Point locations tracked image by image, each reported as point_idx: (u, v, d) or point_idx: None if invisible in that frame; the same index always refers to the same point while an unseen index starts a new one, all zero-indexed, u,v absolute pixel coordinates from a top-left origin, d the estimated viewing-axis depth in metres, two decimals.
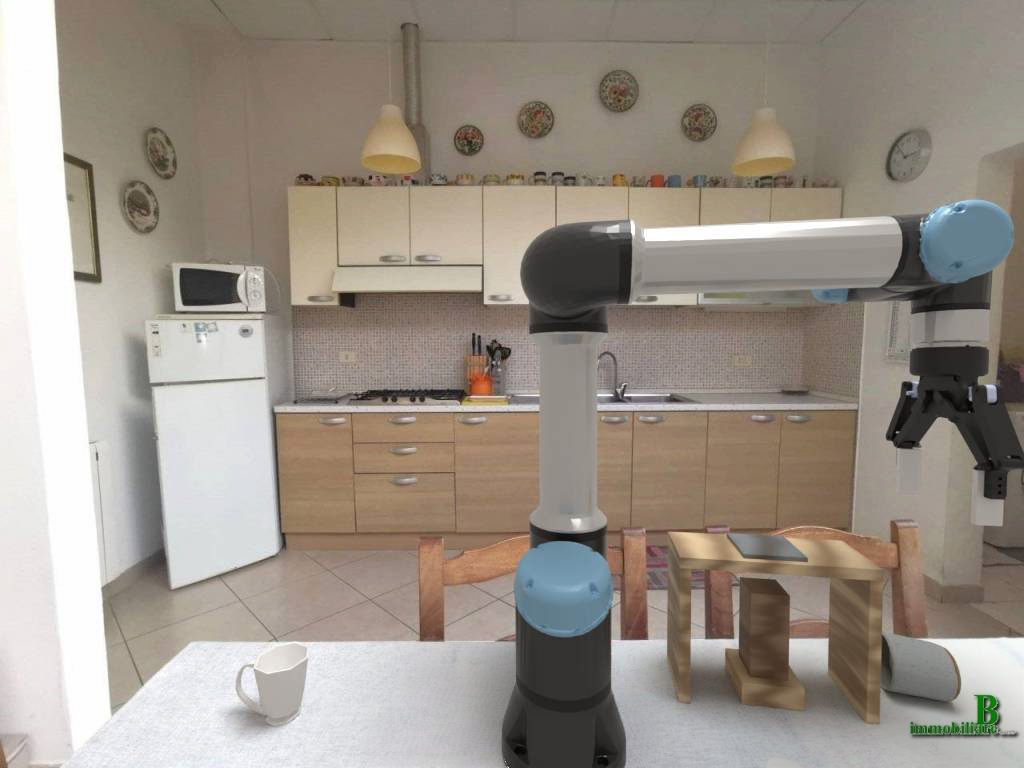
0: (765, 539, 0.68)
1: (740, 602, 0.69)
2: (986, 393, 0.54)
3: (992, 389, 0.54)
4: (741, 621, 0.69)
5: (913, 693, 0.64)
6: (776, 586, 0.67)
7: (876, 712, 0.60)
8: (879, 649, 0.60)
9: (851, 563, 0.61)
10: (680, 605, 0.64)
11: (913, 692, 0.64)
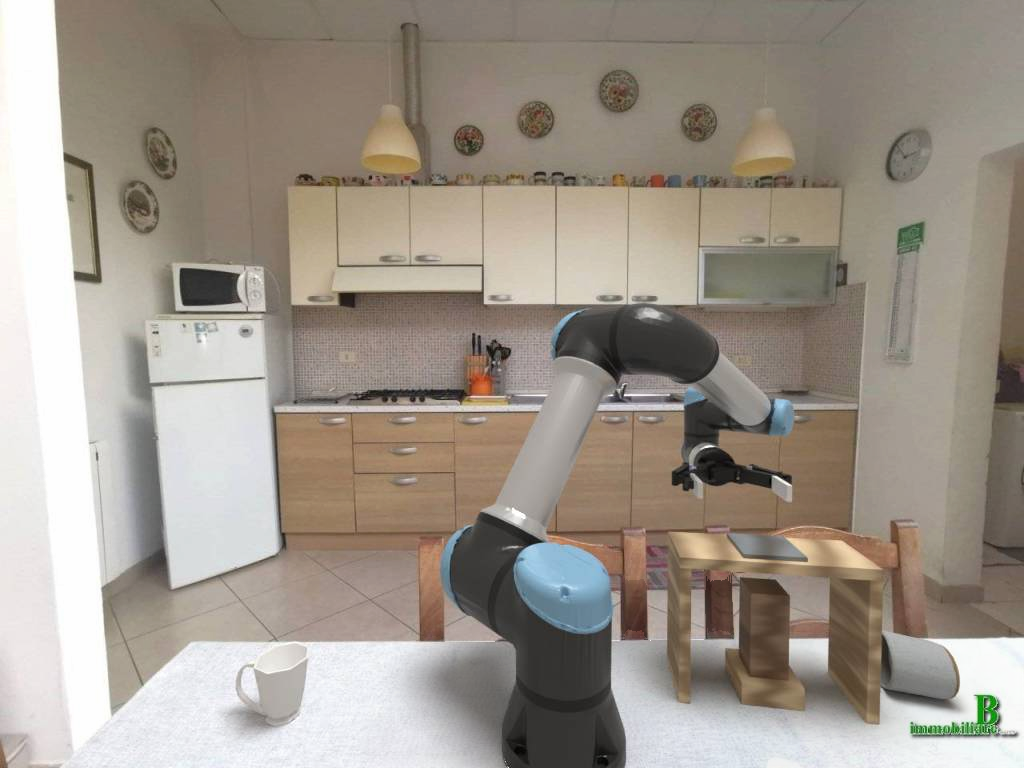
0: (765, 539, 0.68)
1: (740, 602, 0.69)
2: None
3: None
4: (741, 621, 0.69)
5: (912, 691, 0.64)
6: (776, 586, 0.67)
7: (876, 712, 0.60)
8: (879, 649, 0.60)
9: (851, 563, 0.61)
10: (680, 605, 0.64)
11: (912, 690, 0.64)
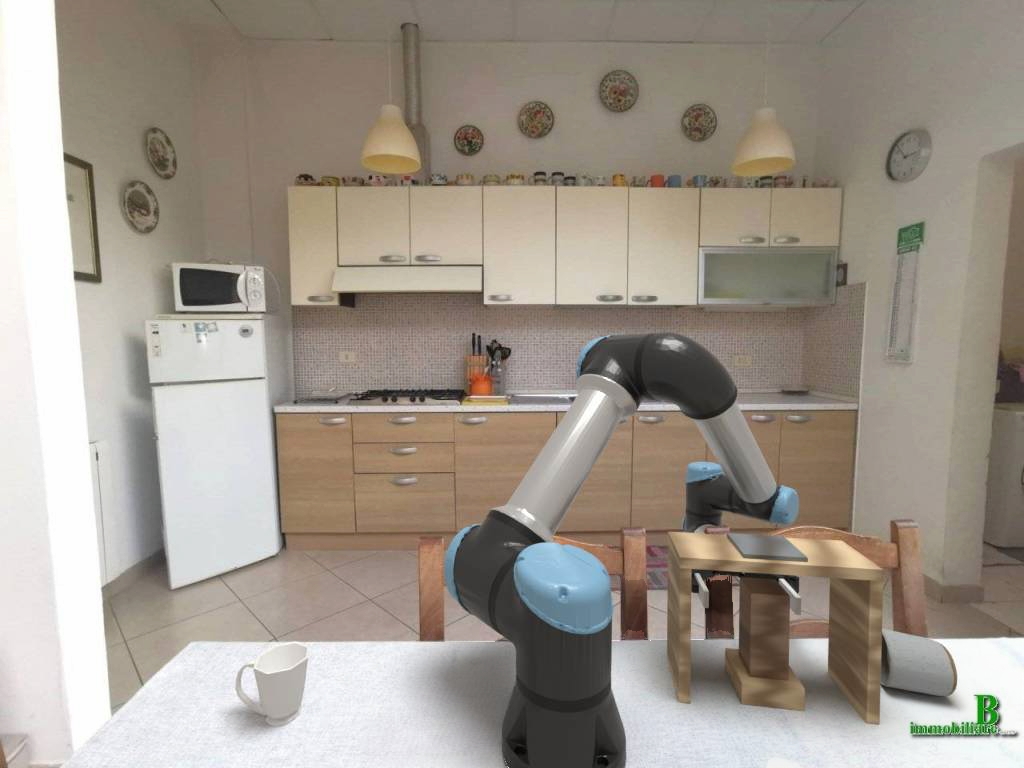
0: (765, 539, 0.68)
1: (740, 602, 0.69)
2: None
3: None
4: (741, 621, 0.69)
5: (910, 688, 0.65)
6: (776, 586, 0.67)
7: (876, 712, 0.60)
8: (879, 649, 0.60)
9: (851, 563, 0.61)
10: (680, 605, 0.64)
11: (910, 687, 0.65)
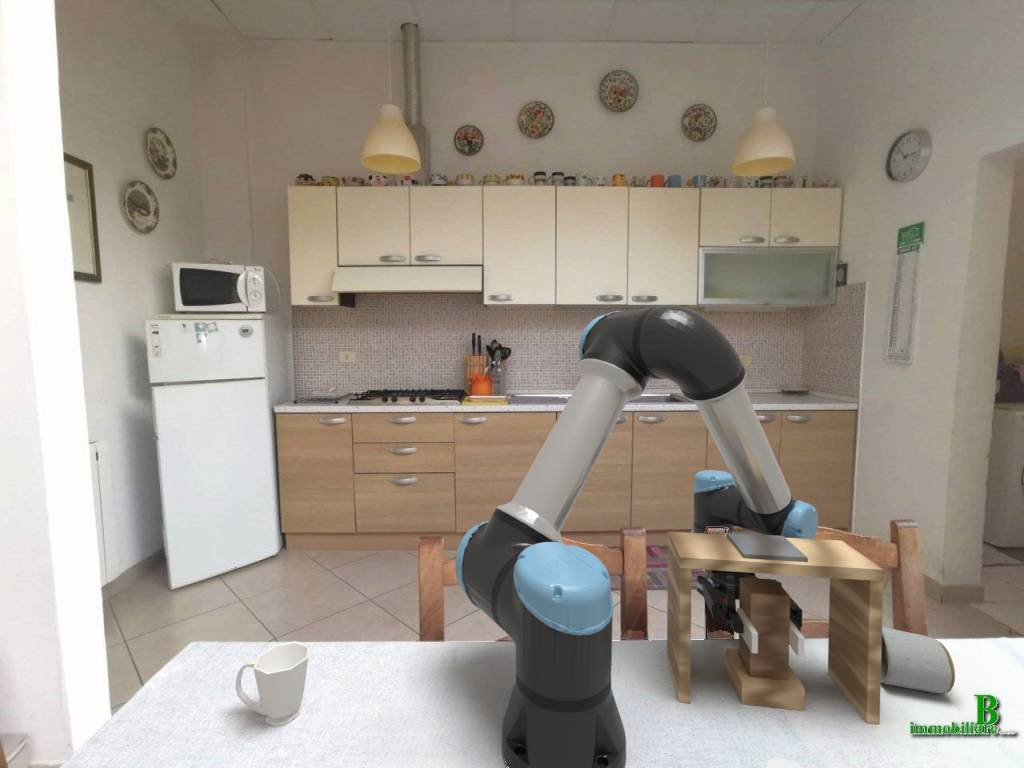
0: (765, 539, 0.68)
1: (740, 602, 0.69)
2: None
3: None
4: None
5: (908, 686, 0.65)
6: (776, 586, 0.67)
7: (876, 712, 0.60)
8: (879, 649, 0.60)
9: (851, 563, 0.61)
10: (680, 605, 0.64)
11: (908, 685, 0.65)
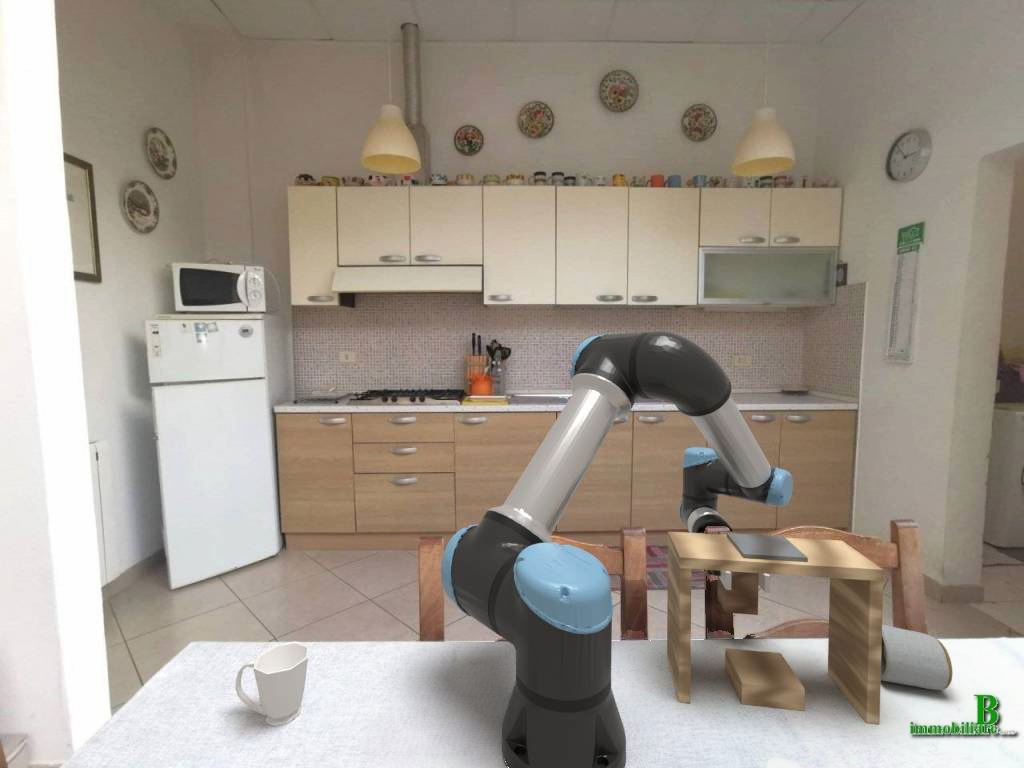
0: (765, 539, 0.68)
1: None
2: None
3: None
4: None
5: (906, 682, 0.66)
6: None
7: (876, 712, 0.60)
8: (879, 649, 0.60)
9: (851, 563, 0.61)
10: (680, 605, 0.64)
11: (906, 681, 0.66)
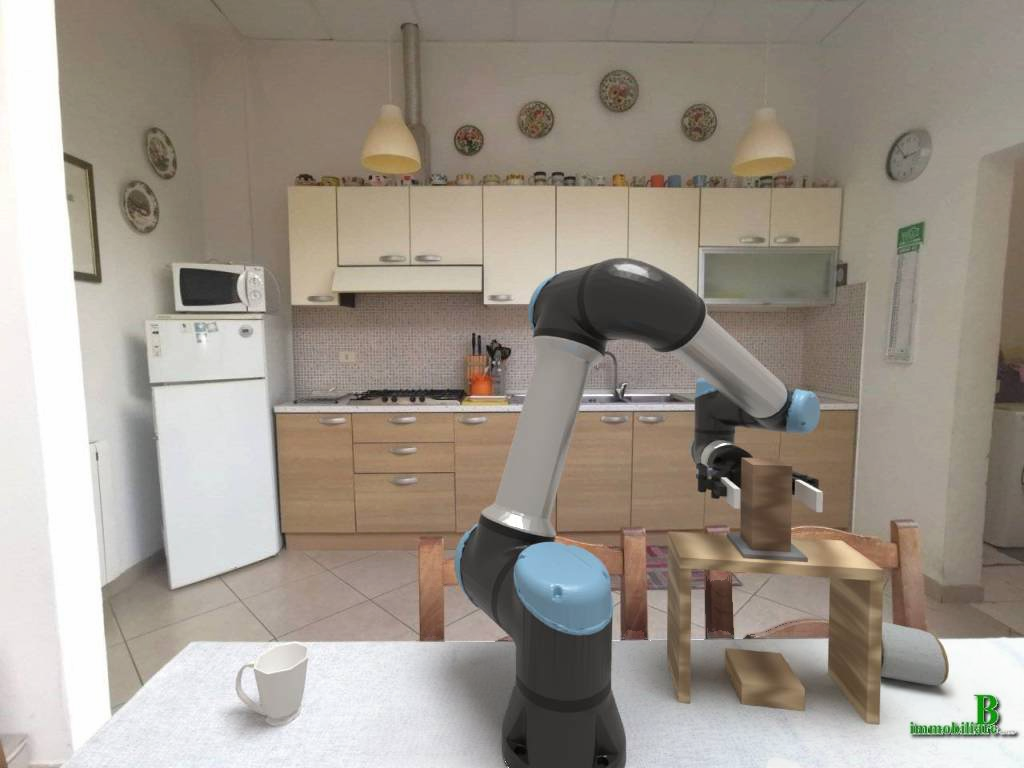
0: None
1: (742, 482, 0.68)
2: None
3: None
4: (743, 500, 0.68)
5: (903, 678, 0.67)
6: (778, 461, 0.66)
7: (876, 712, 0.60)
8: (879, 649, 0.60)
9: (851, 563, 0.61)
10: (680, 605, 0.64)
11: (903, 677, 0.67)
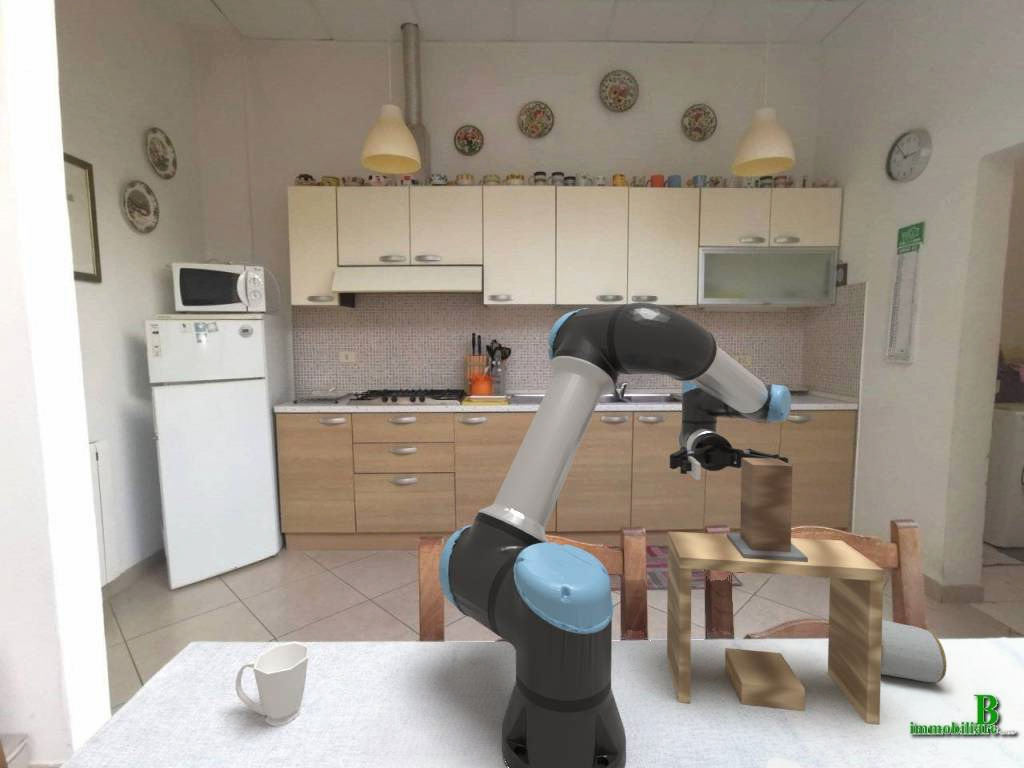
0: None
1: (742, 482, 0.68)
2: None
3: None
4: (743, 500, 0.68)
5: (901, 675, 0.68)
6: (778, 461, 0.66)
7: (876, 712, 0.60)
8: (879, 649, 0.60)
9: (851, 563, 0.61)
10: (680, 605, 0.64)
11: (901, 674, 0.67)
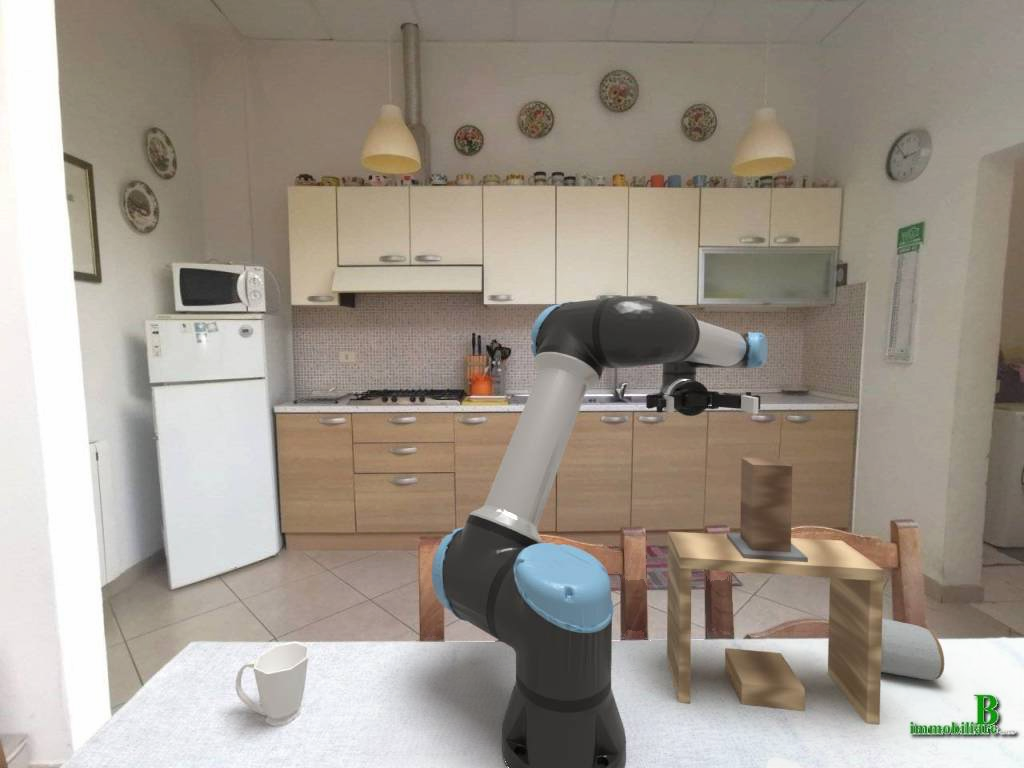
0: None
1: (742, 482, 0.68)
2: None
3: None
4: (743, 500, 0.68)
5: (900, 673, 0.68)
6: (778, 461, 0.66)
7: (876, 712, 0.60)
8: (879, 649, 0.60)
9: (851, 563, 0.61)
10: (680, 605, 0.64)
11: (900, 672, 0.68)
